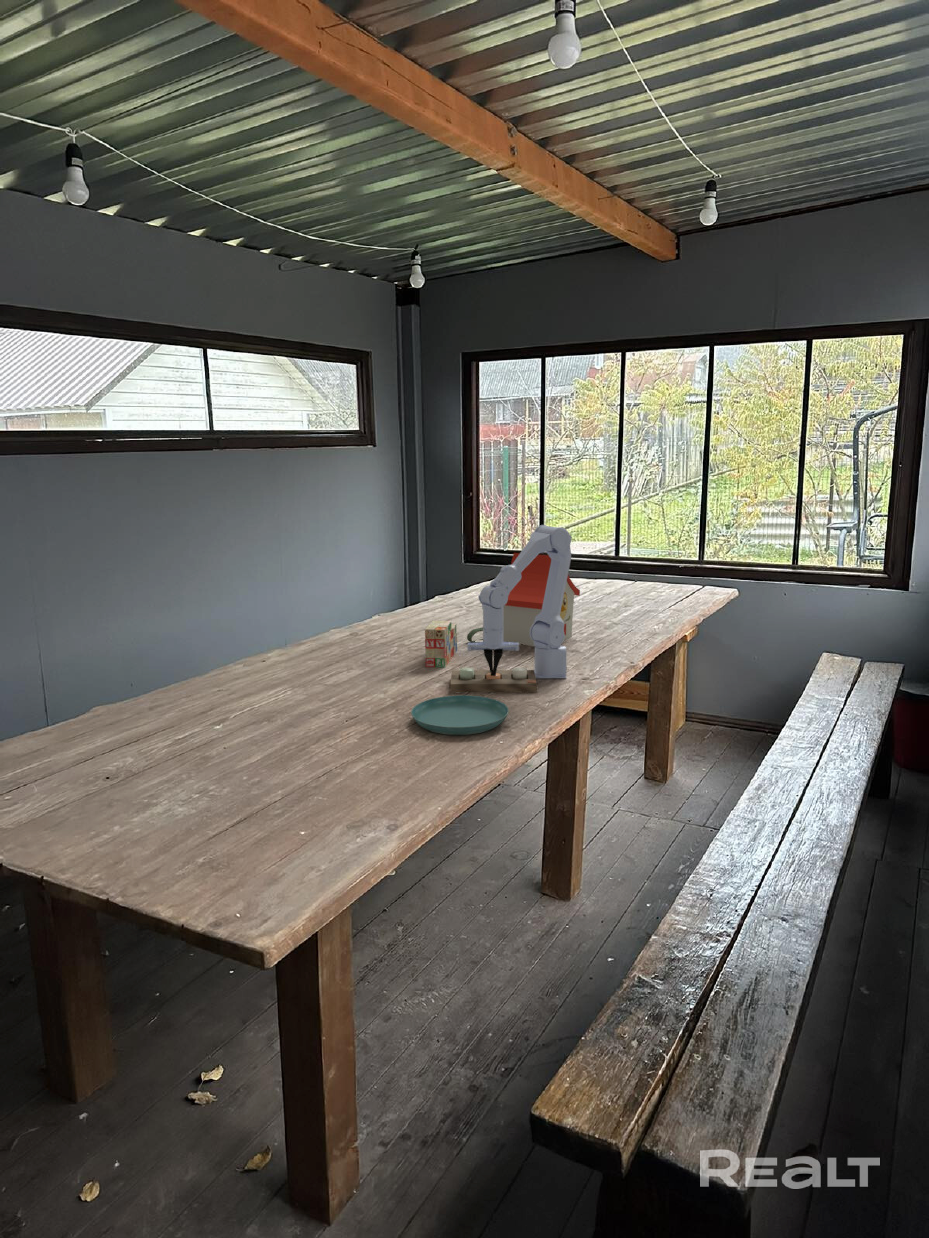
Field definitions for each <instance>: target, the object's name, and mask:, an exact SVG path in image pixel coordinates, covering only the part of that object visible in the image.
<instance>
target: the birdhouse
mask: <svg viewBox="0 0 929 1238" xmlns="http://www.w3.org/2000/svg"><path fill="white" fill-rule="evenodd" d="M520 553H521V552H513V554H512V559H511V563H510V565H512V564H513V562H514V561H515V560H516V558H517V557H518V556H519V554H520ZM550 565H551V558H550V557H549V555H548V554H538V555H537V556H536V557H535V558H534V559H533V560H532V561H531V563H530V564H529V565H528V566H527V567H526V568H525V569H524V570H523V571H522V572H521V580H520V581H519V582H518V583H517V584H516V586H515V587H514V588H513V589H512V590H511V592H510V593H509V595H508V601H507V603H506V604H505V605H504V606H503V642H513V643H519V645H521V644H523V646H529V647H535V645H534V641H533V640H532V639H531V637H530V628H531V626H532V625H533V623H534V620H535V617H536V616H537V615H538V614H539V613H541V611H542V606H543V601H544V595H545V590H546V585H547V580H548V575H549V570H550ZM569 575H570V574H568V576H567V581H566V586H565V591H564V596H563V601H562V606H561V612H560V617H561V619H562V620H563V622H564V634H565V637H564V641H566V640H568V639H571V638H572V637H573V617H574V603H575V596H578V597H580V596H581V595H580V594H581V592H580V591H581V589H580V588H578V587H577V586H576V585H575V584H574V582H573V581H572V579H571V578H570V576H569ZM547 624H549V623H547ZM479 632H483V626H482V627H477V628H474V629H471V631H469V632H468V633H467V636H466V639H467V641H468V643H476V642H475V641H476V640H472V639H473V637H474V635H475V634H477V633H479ZM479 640H483V638H481V639H479Z"/></svg>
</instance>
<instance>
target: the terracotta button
mask: <svg viewBox="0 0 929 1238" xmlns="http://www.w3.org/2000/svg"><path fill="white" fill-rule="evenodd" d="M486 679H500V674H499V673H496V676H491V673H488V674H486Z"/></svg>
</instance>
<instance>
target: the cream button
mask: <svg viewBox="0 0 929 1238" xmlns="http://www.w3.org/2000/svg"><path fill="white" fill-rule="evenodd" d="M512 670H513V679H527V670H528V668H527V667H521V666H517V667H513V668H512Z"/></svg>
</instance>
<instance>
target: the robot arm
mask: <svg viewBox="0 0 929 1238" xmlns="http://www.w3.org/2000/svg"><path fill="white" fill-rule="evenodd" d="M529 537H530V538H529V540H528V542H527V543H526V545H525V546H524V547H523V548H522V550H521V552H519V553H520V554H519V556H518V557H517V558H516V560H515V561H514V562H513V564H512V565H511V564H508V565H507V564H506V565H505V566H502V567H501V568H500V571H499V573H498V574H497V576H496V577H495V578H494V579H493V580H491V581H490V583H489V584H488V585H485V586H484V587H483V588H482V589H481V591H480V594H479V595H478V600H479V603H480V604H481V609H482V627H483V631H482V639H483V642H476V643H472V642H468V643H467V652H472V651H483V655H484V657H485V659H486V661H487V664H488V667H489V670H490V672H491V676H496V670H498V666H499V663H500V661H501V660H502V656H503V654H504V652H503V651H518V652H519V651H520V644H519V643H513V642H503V606H504V605H505V604H506V603H507V601H508V595H509V593H510V592H511V590H512V589H513V588H514V587H515V586H516V584H517V583H518V582H519V581H520V580H521V572H522V571H523V570H524V569H525V568H526V567H527V566H528V565H529V564H530V563H531V561H532V560H533V559H534V558H535V557H536V556H537V555H540V554H542V553H546V555H549V557H550V558H551V565H550V570H549V575H548V580H547V585H546V590H545V595H544V601H543V606H542V611H541V613H539V614H538V615H537V616H536V617H535V620H534V623H533V625H532V626H531V628H530V637H531V639H532V640H533V641H534V645H535V646H534V669H533V670H534V672H535V676H536V679H567V669H568V665H567V647H566V646H565V645H562V644H563V643H564V641H565V640H564V637H565V634H564V622H563V620H562V619H561V617H560V612H561V606H562V601H563V596H564V591H565V586H566V581H567V576H568V575H569V571H570V566H571V561H572V551H571V542H572V539H573V537H572V535H571V534H570V532H569V531H568V530H567V529H566V528H565V527H562V526H561V527H559V526H558V527H557V526H556V527H555V526H551V525H550V526H549V525H546V524H541V525H539V526H537V527H536V528H535V530H534V531H533V532H531V534H530V536H529ZM547 623H549V624H547Z"/></svg>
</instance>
